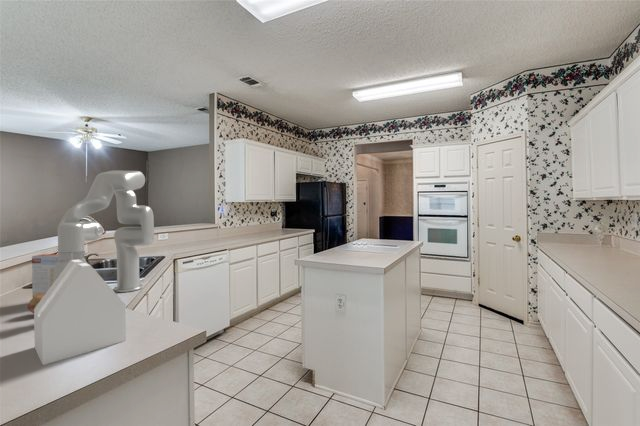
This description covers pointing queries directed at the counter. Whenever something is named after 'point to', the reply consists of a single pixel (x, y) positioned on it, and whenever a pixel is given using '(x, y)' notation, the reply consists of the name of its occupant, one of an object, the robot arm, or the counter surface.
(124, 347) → the counter surface
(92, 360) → the counter surface
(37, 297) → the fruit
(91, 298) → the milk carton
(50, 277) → the cracker box
